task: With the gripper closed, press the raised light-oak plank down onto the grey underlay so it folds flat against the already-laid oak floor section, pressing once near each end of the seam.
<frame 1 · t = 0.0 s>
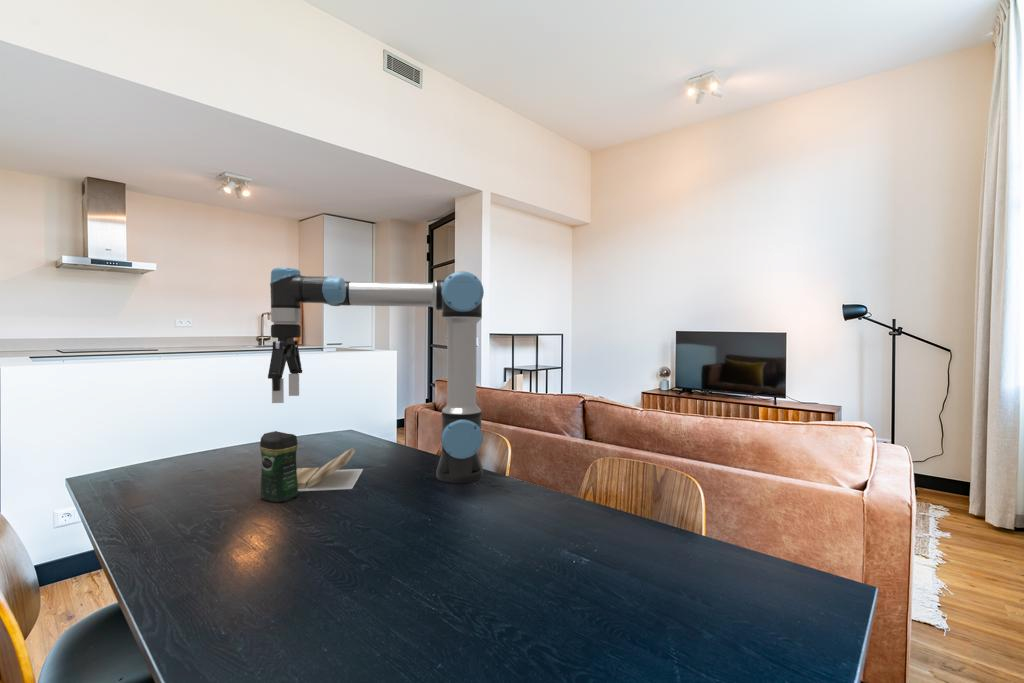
hand: (286, 399, 131), 28 cm above the table, fingers open, 13 cm apart
laid section: (294, 480, 146), resting on underlay
plank: (332, 466, 147), point 4 cm above the table, hinge at 32.0°
underlay: (316, 480, 147), on the table
coffee jar: (279, 498, 131), on the table, touching underlay
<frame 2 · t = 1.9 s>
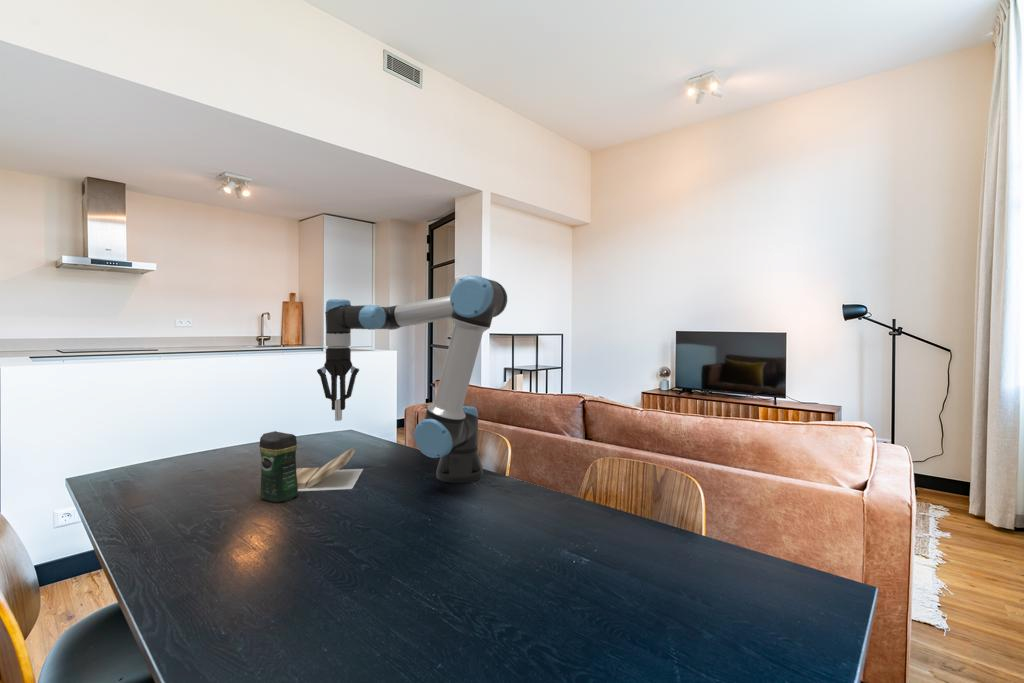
hand: (338, 419, 151), 18 cm above the table, fingers closed
nothing on the table moved.
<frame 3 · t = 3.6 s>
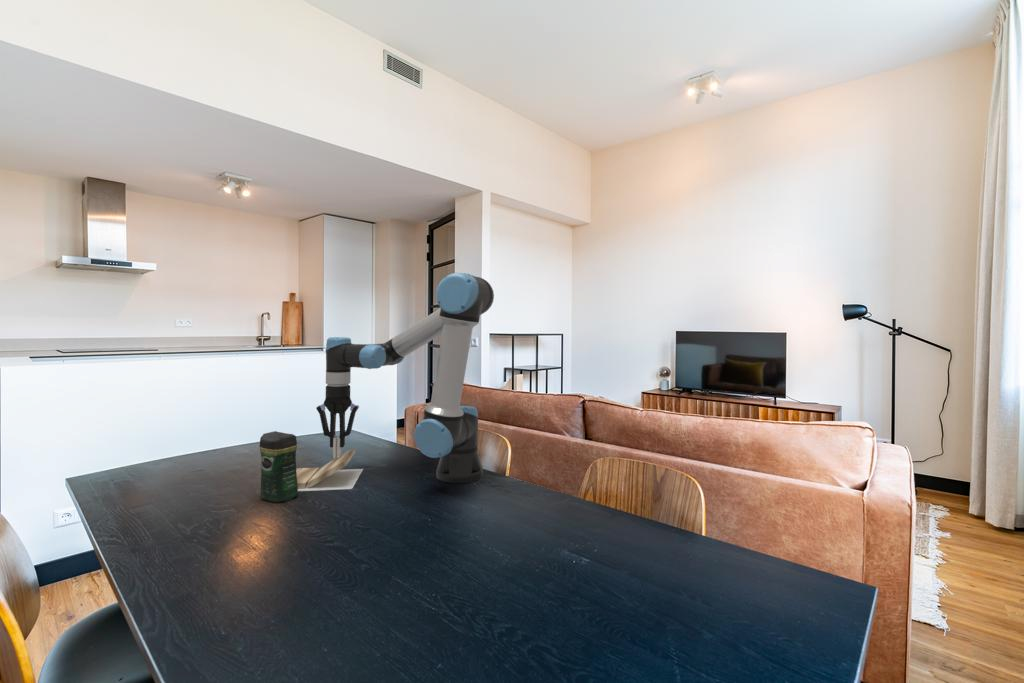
hand: (337, 456, 151), 6 cm above the table, fingers closed
plank: (332, 466, 147), point 4 cm above the table, hinge at 30.5°, touching gripper
everything else where it was.
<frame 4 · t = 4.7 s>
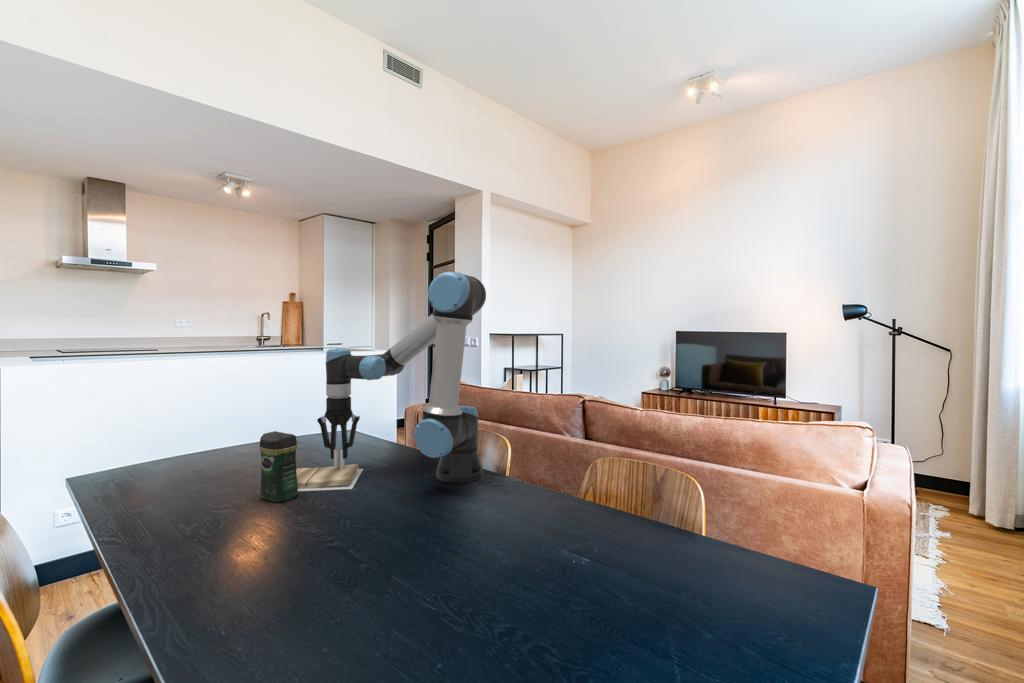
hand: (339, 468, 151), 2 cm above the table, fingers closed on plank
plank: (334, 475, 147), point 1 cm above the table, hinge at 3.4°, touching gripper
everything else where it was.
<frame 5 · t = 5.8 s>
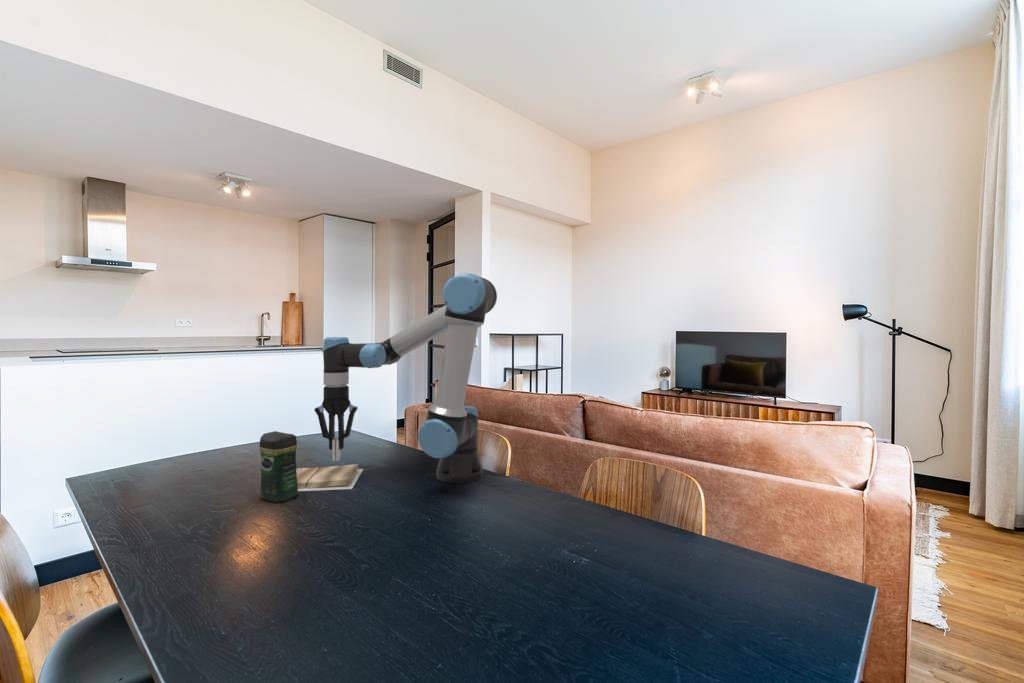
hand: (336, 459, 148), 6 cm above the table, fingers closed
plank: (334, 475, 147), point 1 cm above the table, hinge at 3.3°
everything else where it was.
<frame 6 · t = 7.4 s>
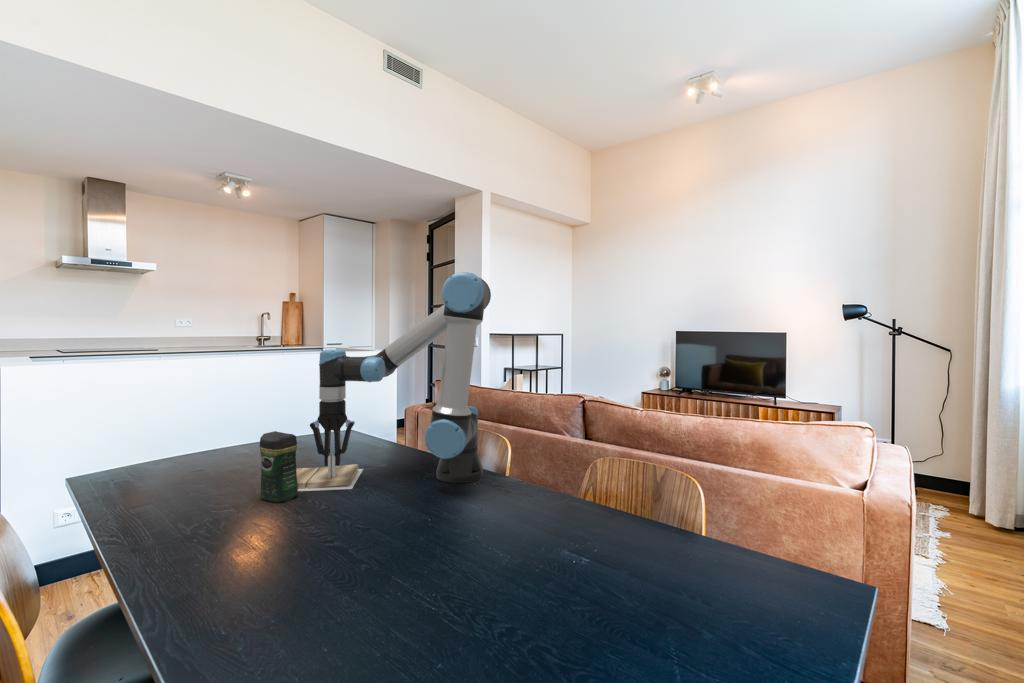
hand: (332, 476, 143), 3 cm above the table, fingers closed, pressing on plank
plank: (334, 475, 147), point 1 cm above the table, hinge at 3.3°, touching gripper
everything else where it was.
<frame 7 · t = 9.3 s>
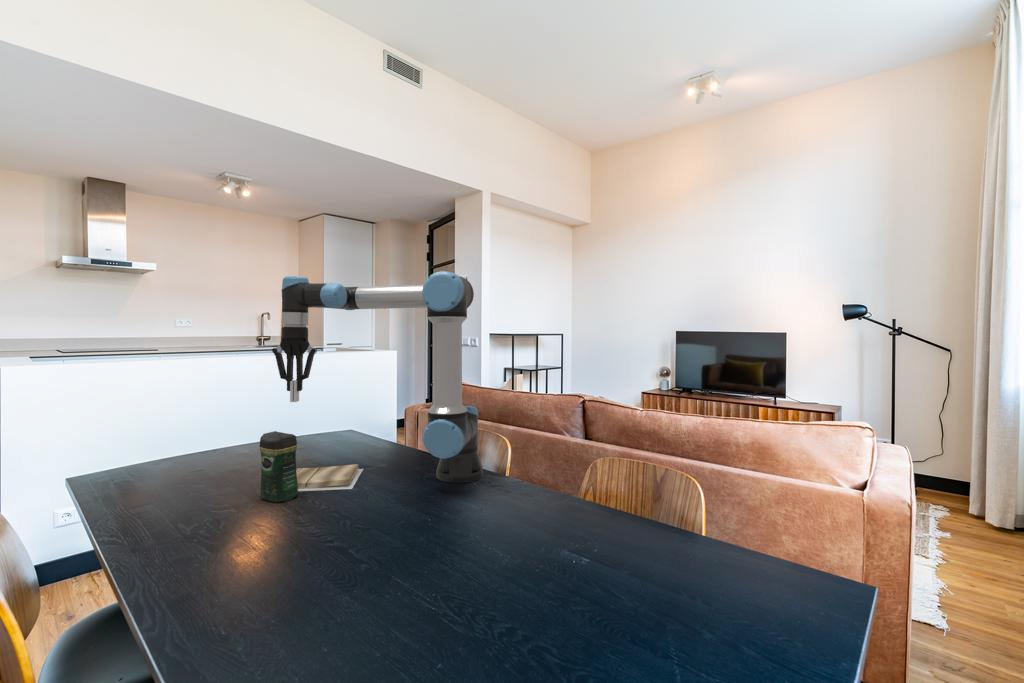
hand: (294, 401, 146), 25 cm above the table, fingers closed
plank: (334, 475, 147), point 1 cm above the table, hinge at 3.3°
everything else where it was.
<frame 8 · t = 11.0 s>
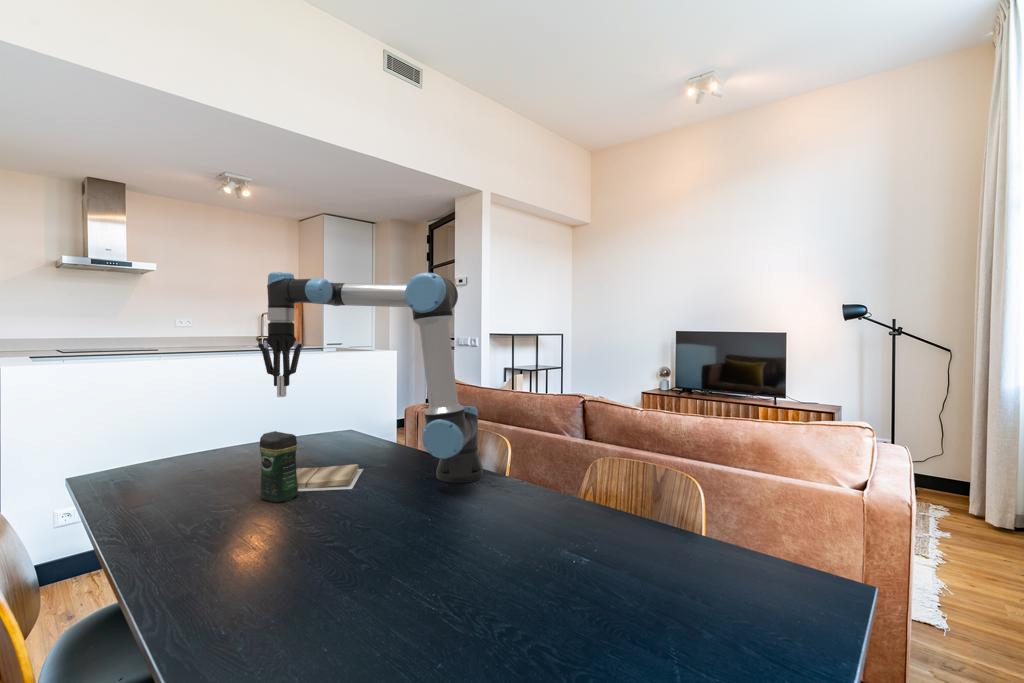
hand: (281, 396, 147), 26 cm above the table, fingers closed
nothing on the table moved.
at the end: plank at +3° (first picture: +32°); plank touching nothing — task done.
